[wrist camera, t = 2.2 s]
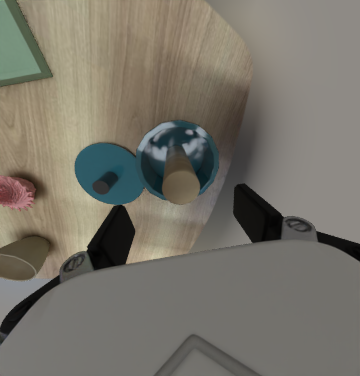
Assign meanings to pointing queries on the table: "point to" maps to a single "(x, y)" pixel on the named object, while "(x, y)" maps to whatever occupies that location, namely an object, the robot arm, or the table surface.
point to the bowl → (23, 258)
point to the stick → (179, 177)
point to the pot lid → (108, 173)
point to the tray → (18, 48)
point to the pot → (176, 136)
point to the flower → (16, 192)
